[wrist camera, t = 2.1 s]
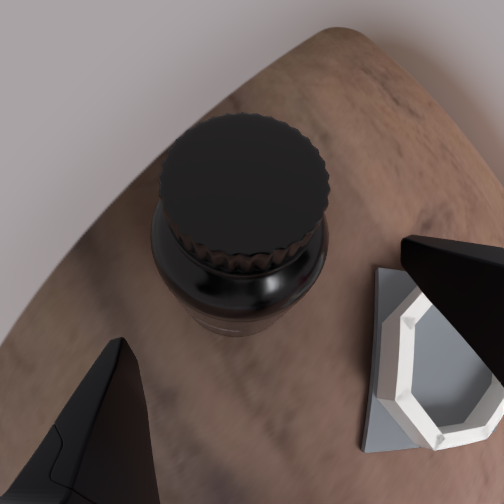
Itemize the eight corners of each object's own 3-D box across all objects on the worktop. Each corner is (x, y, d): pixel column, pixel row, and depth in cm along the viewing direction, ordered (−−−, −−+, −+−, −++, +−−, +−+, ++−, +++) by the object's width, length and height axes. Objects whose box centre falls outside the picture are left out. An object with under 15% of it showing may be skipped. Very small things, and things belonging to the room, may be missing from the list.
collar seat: (491, 430, 16) (517, 433, 14) (360, 450, 16) (381, 462, 13) (495, 285, 21) (520, 274, 18) (375, 270, 20) (395, 254, 18)
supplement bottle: (190, 348, 18) (123, 320, 7) (174, 241, 20) (119, 108, 9) (303, 326, 19) (396, 268, 8) (278, 224, 21) (320, 83, 10)
